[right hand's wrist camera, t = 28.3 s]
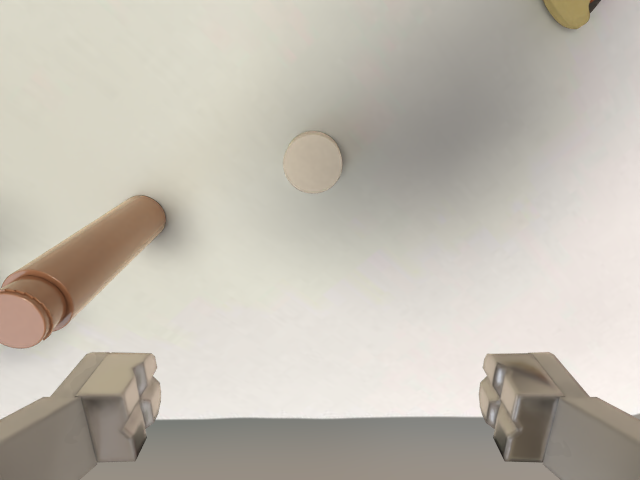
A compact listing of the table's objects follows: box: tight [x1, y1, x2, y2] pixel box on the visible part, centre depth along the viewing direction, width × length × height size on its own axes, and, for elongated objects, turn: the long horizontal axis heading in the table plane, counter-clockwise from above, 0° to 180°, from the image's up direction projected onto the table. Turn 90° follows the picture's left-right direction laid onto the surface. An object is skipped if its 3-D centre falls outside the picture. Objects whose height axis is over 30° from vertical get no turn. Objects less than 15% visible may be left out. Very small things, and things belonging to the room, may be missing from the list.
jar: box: [0, 196, 166, 348], centre depth 31 cm, size 4×4×18 cm
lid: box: [283, 131, 342, 193], centre depth 36 cm, size 5×5×2 cm
